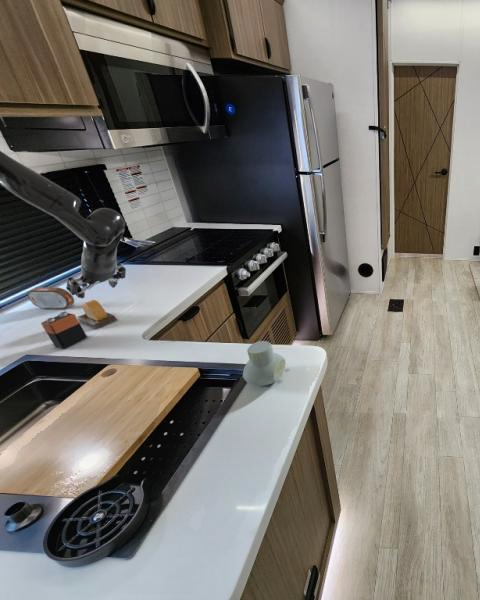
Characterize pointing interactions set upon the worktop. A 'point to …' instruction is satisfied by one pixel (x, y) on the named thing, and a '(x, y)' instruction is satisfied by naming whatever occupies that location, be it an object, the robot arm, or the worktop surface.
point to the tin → (50, 298)
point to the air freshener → (263, 364)
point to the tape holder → (97, 324)
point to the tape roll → (94, 310)
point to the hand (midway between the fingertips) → (96, 290)
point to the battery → (64, 330)
